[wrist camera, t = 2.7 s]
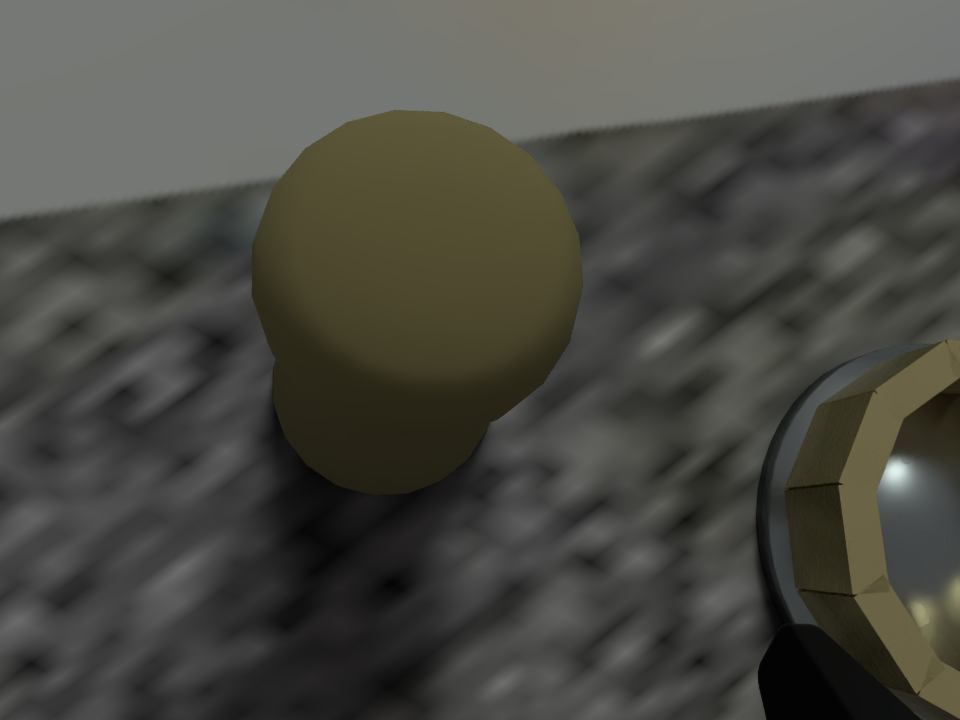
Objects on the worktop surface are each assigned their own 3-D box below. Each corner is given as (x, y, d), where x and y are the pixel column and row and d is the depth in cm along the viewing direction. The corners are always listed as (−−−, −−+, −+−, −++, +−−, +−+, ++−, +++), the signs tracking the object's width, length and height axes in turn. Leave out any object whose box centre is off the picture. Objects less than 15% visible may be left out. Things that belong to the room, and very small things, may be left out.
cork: (390, 544, 21) (444, 552, 10) (222, 386, 21) (104, 231, 10) (539, 380, 22) (718, 240, 12) (382, 234, 23) (420, -33, 12)
